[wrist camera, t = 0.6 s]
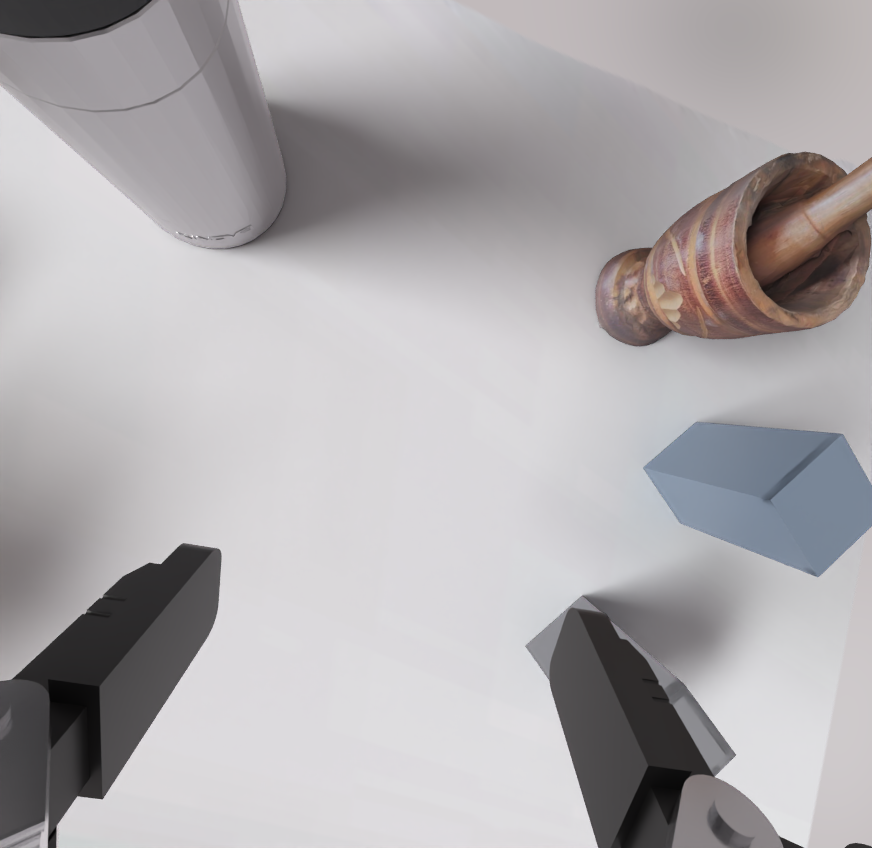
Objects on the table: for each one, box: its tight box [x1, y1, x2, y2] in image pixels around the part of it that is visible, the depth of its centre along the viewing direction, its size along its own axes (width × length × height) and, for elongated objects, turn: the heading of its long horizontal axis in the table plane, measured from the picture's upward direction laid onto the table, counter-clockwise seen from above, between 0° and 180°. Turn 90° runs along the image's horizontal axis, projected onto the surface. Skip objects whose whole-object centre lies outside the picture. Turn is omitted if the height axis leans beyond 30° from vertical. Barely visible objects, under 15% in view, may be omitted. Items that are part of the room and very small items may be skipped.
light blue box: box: [644, 422, 872, 577], centre depth 31 cm, size 6×6×11 cm
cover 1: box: [526, 596, 736, 777], centre depth 30 cm, size 6×6×11 cm
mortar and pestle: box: [596, 152, 872, 346], centre depth 25 cm, size 12×9×20 cm
